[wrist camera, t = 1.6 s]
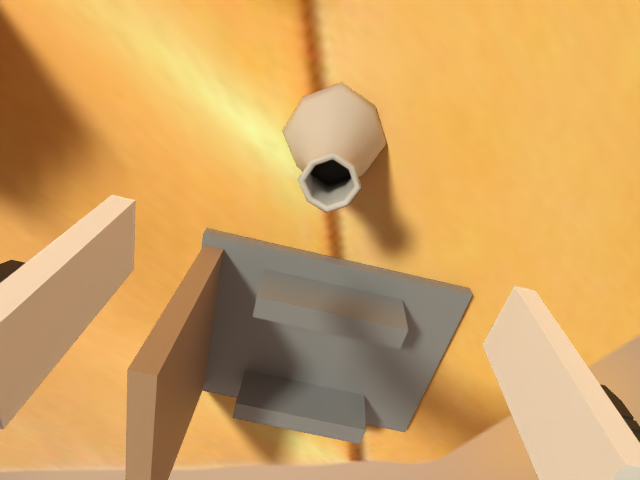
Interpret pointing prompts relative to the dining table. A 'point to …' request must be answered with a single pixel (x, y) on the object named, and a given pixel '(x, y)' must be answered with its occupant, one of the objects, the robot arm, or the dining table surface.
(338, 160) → the flask
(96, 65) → the dining table surface
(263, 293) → the shaker holder
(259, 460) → the dining table surface
